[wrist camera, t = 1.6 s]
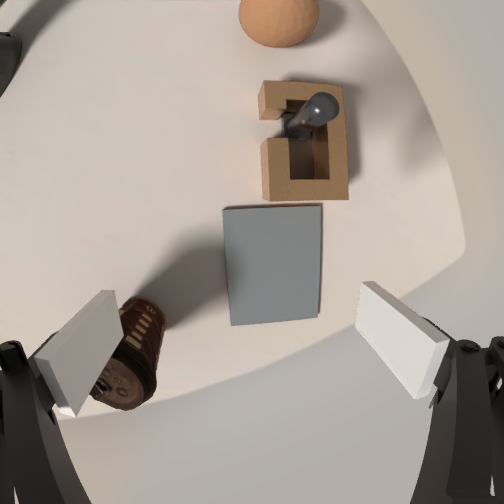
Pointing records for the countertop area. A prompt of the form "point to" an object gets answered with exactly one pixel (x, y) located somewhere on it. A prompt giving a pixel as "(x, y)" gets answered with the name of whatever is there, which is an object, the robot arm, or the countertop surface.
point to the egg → (278, 21)
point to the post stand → (310, 117)
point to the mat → (272, 263)
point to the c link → (324, 146)
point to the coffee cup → (133, 357)
